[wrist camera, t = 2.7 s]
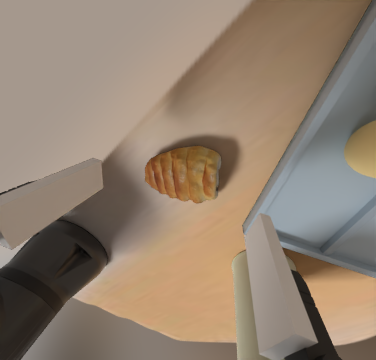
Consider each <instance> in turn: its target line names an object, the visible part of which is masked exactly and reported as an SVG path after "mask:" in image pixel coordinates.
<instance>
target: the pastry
mask: <svg viewBox="0 0 376 360" xmlns="http://www.w3.org/2000/svg"><path fill="white" fill-rule="evenodd" d="M220 167H221V157H220V155H219V154H218V153H217V152H216V151H214V150H211V149H208V148H205V147H202V146H191V147H185V148H177V149H174V150H171V151H169V152H165V153H162V154H159V155H157V156H155V157H153V158H151V159H150V160H149V162H148V163H147V165H146V167H145V181H146V182H147V183H148V184H149V185H150V186H151V187H152V188H154V189H156V190H158V191H159V192H160V193H161V194H167V195H169V197H170V198H178V199H179V200H181V201H188V200H192V201H193V202H194V203H202V202H203V201H205V200H213V199H216V198H217V196H218V187H217V186H218V185H219V173H218V170H219V169H220Z"/></svg>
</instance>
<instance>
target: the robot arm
mask: <svg viewBox="0 0 376 360" xmlns="http://www.w3.org/2000/svg"><path fill="white" fill-rule="evenodd" d="M101 189H103V176H102V163H101V160H98V159H94V158H92V159H89V160H87V161H84V162H82V163H80V164H77V165H74V166H72V167H69V168H67V169H64V170H62V171H59V172H57V173H54V174H52V175H49V176H47V177H44V178H42V179H39V180H36V181H32V182H28V183H25V184H23V185H20V186H17V188H12V189H10V190H8V191H5V192H2V193H0V245H2V246H4V247H6V248H9V249H11V250H12V249H14V248H15V247H17V246H18V245H20V244H21V243H23V242H24V241H26V240H27V239H29V238H30V237H32V236H33V237H32V238H30V239H29V241H28V242H27V243H26V244H25V245H24V246H23V247H22V248H21V249H20V250H19V252H18V253H17V254H16V255H15V256H14V257H13V258H12V260H11V261H10V262H9V263H7V264H6V265H5V266H3V267H2V268H1V269H0V360H21V359H22V357H23V356H24V355H25V353H26V352H27V351H28V349H29V348H30V347H31V346H32V345H33V343H34V342H35V341H36V340H37V338H38V337H39V336H40V334H41V333H42V332H43V331H44V329H45V328H46V327H47V325H48V324H49V323H50V322H51V320H52V319H53V318H54V317H55V315H56V314H57V313H58V312H59V311H60V309H61V308H62V307H63V306H64V304H65V303H66V302H67V301H68V300H69V299H70V298H71V297H73V296H74V295H75V294H76V293H77V292H79V291H80V290H81V289H82V288H83V287H85V286H86V285H87V284H88V283H90V282H91V281H92V280H93V279H94V278H96V277H97V276H98V275H99V274H100V272H101V271H102V270H103V268H104V267H105V266H106V264H107V255H106V252H105V250H104V248H103V247H102V246H101V244H100V243H99V242H98V241H97V240H96V239H95V238H94V237H93V236H92V235H91V234H89V233H88V232H87V231H85V230H84V229H82V228H80V227H79V226H77V225H74V224H72V223H69V222H66V221H61V220H57V219H58V218H60V217H61V216H63V215H64V214H66V213H67V212H69V211H70V210H72V209H73V208H74V207H76V206H77V205H79V204H80V203H82V202H83V201H85V200H86V199H88V198H89V197H91V196H92V195H94V194H95V193H97V192H98V191H100V190H101ZM244 238H245V246H246V254H247V261H248V269H249V277H250V285H251V293H252V301H253V309H254V317H255V325H256V332H257V340H258V348H259V354H260V355H262V356H265V357H267V358H269V359H272V360H281V359H283V358H284V359H285V360H342V359H341V358H340V357H339V356H338V354H337V352H336V350H335V349H334V346H333V344H332V341H331V339H330V337H329V334H328V332H327V330H326V328H325V325H324V323H323V321H322V318H321V316H320V314H319V312H318V309H317V308H316V307H315V302H314V300H313V298H312V297H311V293H310V291H309V289H308V286H307V284H306V282H305V281H304V280H303V278H302V277H301V275H300V274H299V273H298V272H297V271H294V270H291V269H290V267H289V265H288V262H287V259H286V257H285V254H284V251H283V249H282V246H281V244H280V241H279V238H278V236H277V233H276V230H275V228H274V225H273V222H272V220H271V217H270V216H268V215H265V214H262V213H259V214H258V216H257V218H256V219H255V221H254V222H253V224H252V226H251V227H250V229H249V230H248V232H247V234H246V235H245V237H244Z"/></svg>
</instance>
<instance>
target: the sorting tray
mask: <svg viewBox="0 0 376 360" xmlns="http://www.w3.org/2000/svg"><path fill="white" fill-rule="evenodd" d="M375 120H376V0H372V2H371V3H370V5H369V7H368V8H367V10H366V12H365V14H364V15H363V17H362V19H361V21H360V22H359V24H358V26H357V28H356V29H355V31H354V33H353V34H352V36H351V38H350V40H349V41H348V43H347V45H346V47H345V48H344V50H343V52H342V54H341V55H340V57H339V59H338V61H337V62H336V64H335V66H334V67H333V69H332V71H331V73H330V74H329V76H328V78H327V80H326V81H325V83H324V85H323V87H322V88H321V90H320V92H319V93H318V95H317V97H316V99H315V100H314V102H313V104H312V106H311V107H310V109H309V111H308V113H307V114H306V116H305V118H304V120H303V121H302V123H301V125H300V126H299V128H298V130H297V132H296V133H295V135H294V137H293V139H292V140H291V142H290V144H289V146H288V147H287V149H286V151H285V152H284V154H283V156H282V158H281V159H280V161H279V163H278V165H277V166H276V168H275V170H274V172H273V173H272V175H271V177H270V179H269V180H268V182H267V184H266V185H265V187H264V189H263V191H262V192H261V194H260V196H259V198H258V199H257V201H256V203H255V205H254V206H253V208H252V210H251V211H250V213H249V215H248V217H247V218H246V220H245V222H244V224H243V225H242V226H243V233H244V235H246V234H247V232H248V230H249V229H250V227H251V226H252V224H253V222H254V221H255V219H256V218H257V216H258V214H259V213H262V214H265V215H268V216H270V217H271V220H272V222H273V225H274V228H275V230H276V233H277V236H278V238H279V241H280V244H281V246H282V247H283V248H286V249H289V250H292V251H295V252H298V253H301V254H304V255H308V256H311V257H314V258H317V259H320V260H323V261H326V262H329V263H332V264H335V265H338V266H341V267H344V268H347V269H350V270H353V271H356V272H359V273H362V274H365V275H368V276H371V277H374V278H376V178H372V177H368V176H365V175H362V174H360V173H358V172H356V171H355V170H353V169H352V168H351V167H350V166H349V165H348V163H347V162H346V160H345V157H344V148H345V145H346V142H347V141H348V139H349V138H350V137H351V135H352V134H353V133H354V132H356V131H357V130H358V129H359V128H361V127H362V126H364V125H366V124H368V123H370V122H372V121H375Z"/></svg>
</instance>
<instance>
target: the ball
mask: <svg viewBox="0 0 376 360" xmlns="http://www.w3.org/2000/svg"><path fill="white" fill-rule="evenodd" d="M344 157H345V160H346V162H347V163H348V165H349V166H350V167H351V168H352V169H353V170H355V171H356V172H358V173H360V174H362V175H365V176H368V177H372V178H376V120H375V121H372V122H370V123H368V124H366V125H364V126H362V127H361V128H359V129H358V130H357V131H356V132H354V133H353V134H352V135H351V137H350V138H349V139H348V141H347V142H346V145H345V148H344Z"/></svg>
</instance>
